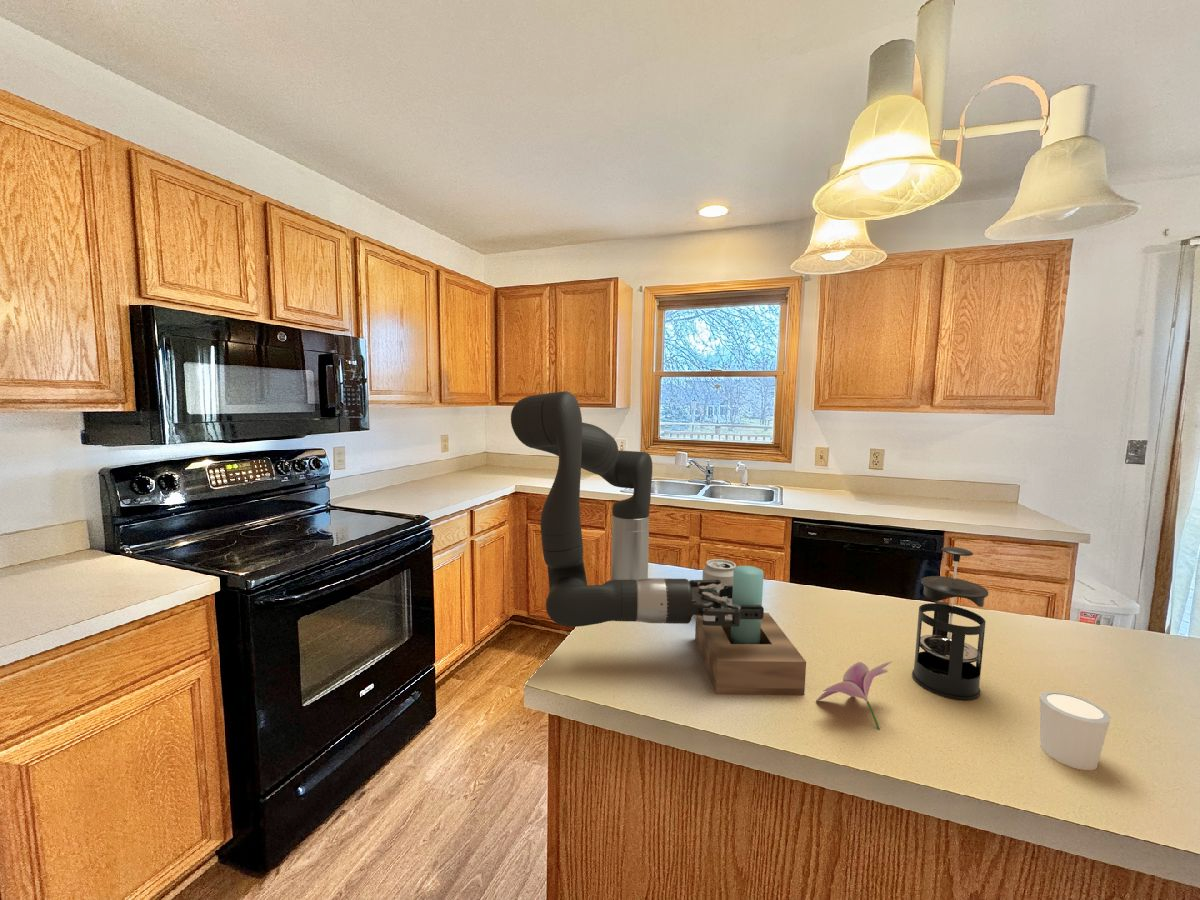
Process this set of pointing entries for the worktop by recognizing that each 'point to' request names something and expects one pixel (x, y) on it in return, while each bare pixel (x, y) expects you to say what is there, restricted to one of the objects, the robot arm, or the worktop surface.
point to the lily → (856, 683)
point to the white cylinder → (1072, 729)
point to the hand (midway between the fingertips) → (755, 601)
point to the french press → (950, 637)
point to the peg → (747, 603)
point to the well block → (751, 660)
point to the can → (719, 572)
